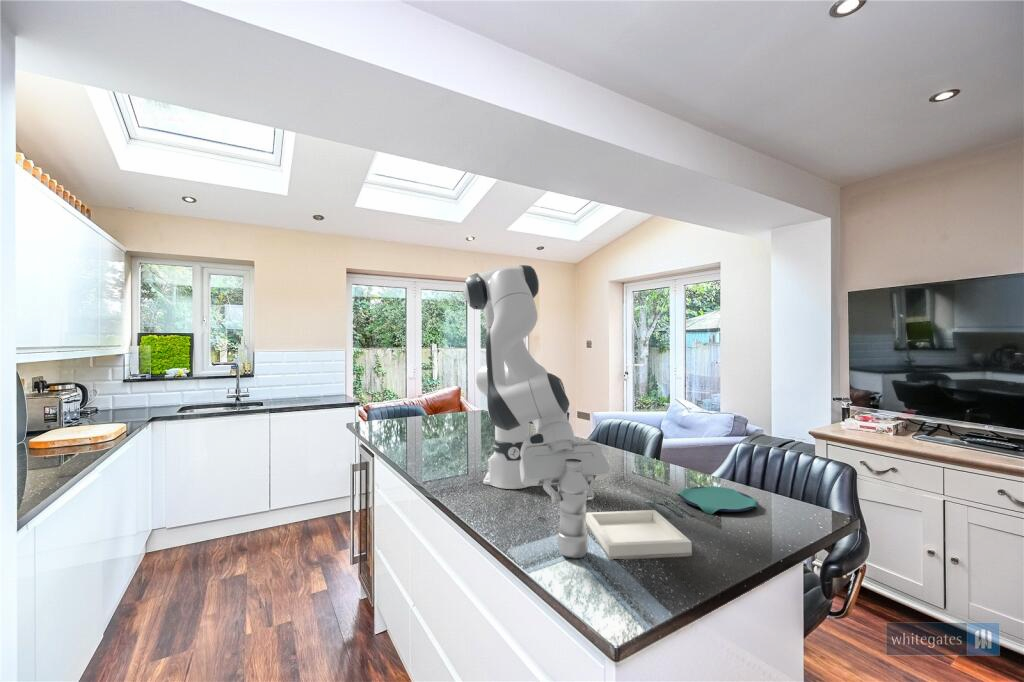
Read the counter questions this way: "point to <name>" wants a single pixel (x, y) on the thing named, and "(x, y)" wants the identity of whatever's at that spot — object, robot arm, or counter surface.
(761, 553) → the counter surface
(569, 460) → the plastic bottle
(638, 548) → the ceramic dish
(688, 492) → the cutlery set
